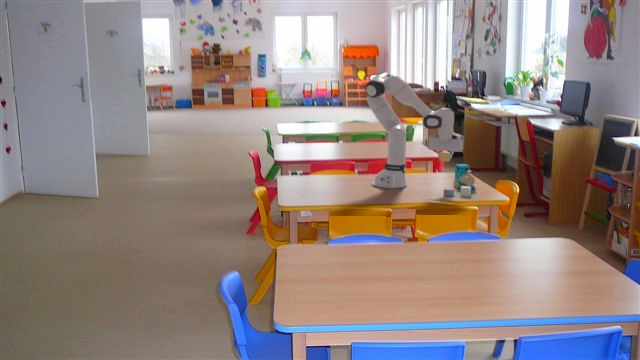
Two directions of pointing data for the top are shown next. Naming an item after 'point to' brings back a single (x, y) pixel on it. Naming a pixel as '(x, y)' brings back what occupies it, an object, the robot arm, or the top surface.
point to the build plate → (465, 196)
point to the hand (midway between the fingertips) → (444, 158)
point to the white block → (465, 191)
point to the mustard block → (444, 156)
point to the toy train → (463, 177)
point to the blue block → (448, 192)
